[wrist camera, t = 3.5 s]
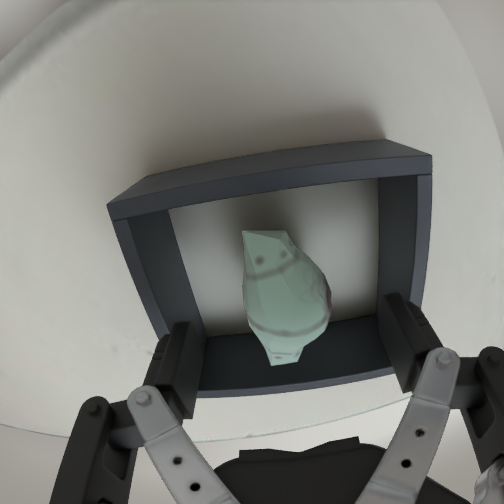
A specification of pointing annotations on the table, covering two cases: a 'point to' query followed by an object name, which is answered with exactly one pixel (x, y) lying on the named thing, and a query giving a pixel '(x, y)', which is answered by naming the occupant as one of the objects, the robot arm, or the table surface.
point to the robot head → (283, 295)
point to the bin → (265, 180)
